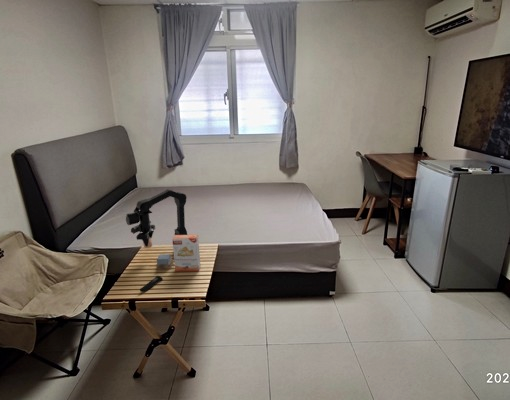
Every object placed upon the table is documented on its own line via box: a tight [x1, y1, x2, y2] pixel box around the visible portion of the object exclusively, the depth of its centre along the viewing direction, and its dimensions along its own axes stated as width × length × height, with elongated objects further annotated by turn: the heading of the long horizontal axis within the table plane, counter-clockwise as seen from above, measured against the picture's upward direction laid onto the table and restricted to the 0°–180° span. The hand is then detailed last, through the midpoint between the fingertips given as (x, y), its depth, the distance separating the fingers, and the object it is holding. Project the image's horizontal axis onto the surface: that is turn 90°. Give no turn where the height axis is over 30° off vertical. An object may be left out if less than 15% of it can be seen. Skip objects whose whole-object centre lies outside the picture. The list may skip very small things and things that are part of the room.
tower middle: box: [156, 253, 172, 265], centre depth 188 cm, size 6×6×4 cm
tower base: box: [155, 258, 174, 271], centre depth 189 cm, size 8×8×4 cm
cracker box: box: [171, 234, 201, 272], centre depth 183 cm, size 14×6×21 cm, turn 89°
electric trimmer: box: [139, 275, 163, 293], centre depth 168 cm, size 4×16×3 cm, turn 158°
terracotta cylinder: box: [142, 238, 153, 249], centre depth 195 cm, size 5×5×5 cm
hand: (147, 244), depth 195 cm, fingers closed on terracotta cylinder, 5 cm apart
